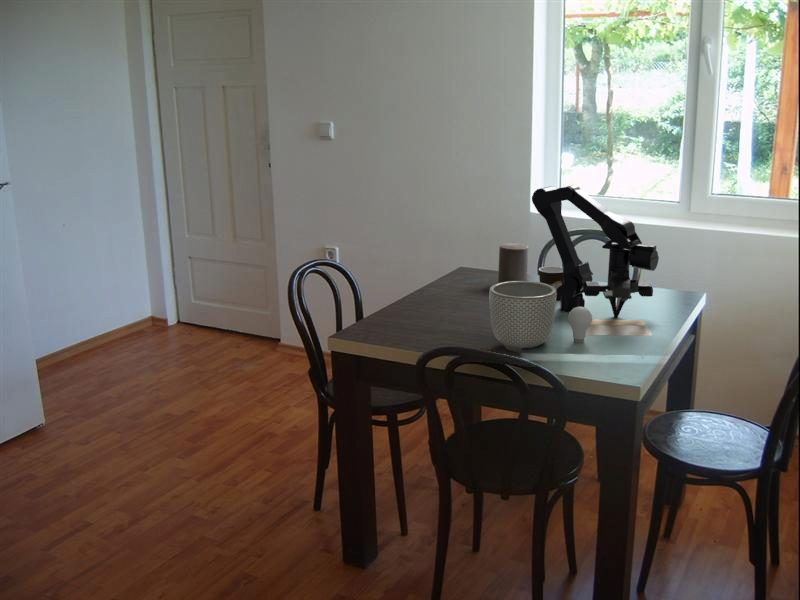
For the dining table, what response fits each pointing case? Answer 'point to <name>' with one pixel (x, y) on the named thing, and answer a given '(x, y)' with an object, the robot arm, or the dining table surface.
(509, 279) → the pillar candle
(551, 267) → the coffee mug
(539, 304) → the planter
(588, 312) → the lightbulb
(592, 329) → the board
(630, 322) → the oak plank
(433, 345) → the dining table surface
